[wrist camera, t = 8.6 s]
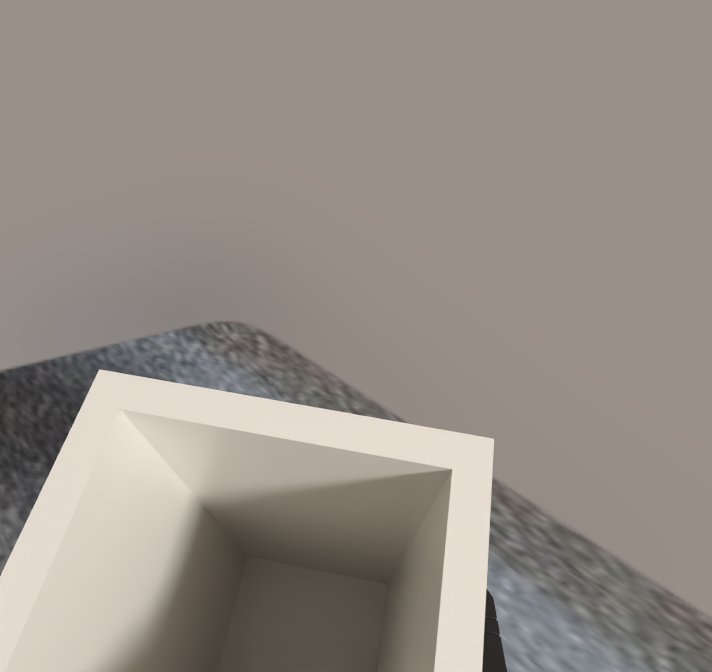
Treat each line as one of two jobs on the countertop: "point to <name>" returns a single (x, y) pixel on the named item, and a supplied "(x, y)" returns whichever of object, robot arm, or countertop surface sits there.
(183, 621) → the cup
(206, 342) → the countertop surface
